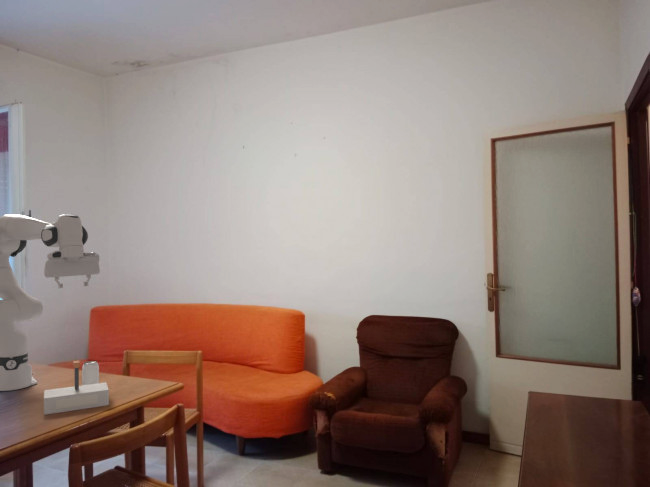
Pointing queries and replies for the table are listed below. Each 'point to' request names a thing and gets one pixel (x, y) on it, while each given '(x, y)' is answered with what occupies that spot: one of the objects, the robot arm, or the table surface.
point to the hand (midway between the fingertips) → (73, 287)
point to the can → (90, 373)
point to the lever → (76, 374)
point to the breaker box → (75, 398)
